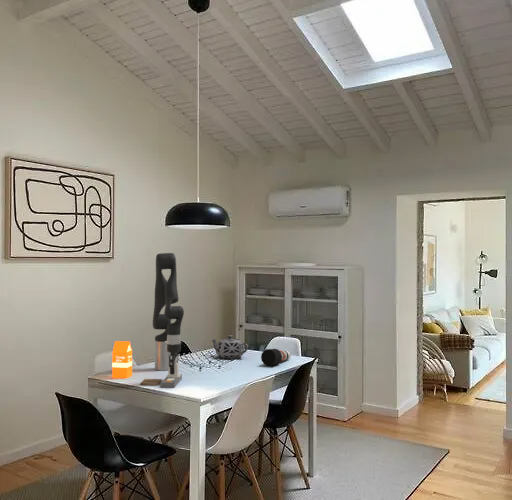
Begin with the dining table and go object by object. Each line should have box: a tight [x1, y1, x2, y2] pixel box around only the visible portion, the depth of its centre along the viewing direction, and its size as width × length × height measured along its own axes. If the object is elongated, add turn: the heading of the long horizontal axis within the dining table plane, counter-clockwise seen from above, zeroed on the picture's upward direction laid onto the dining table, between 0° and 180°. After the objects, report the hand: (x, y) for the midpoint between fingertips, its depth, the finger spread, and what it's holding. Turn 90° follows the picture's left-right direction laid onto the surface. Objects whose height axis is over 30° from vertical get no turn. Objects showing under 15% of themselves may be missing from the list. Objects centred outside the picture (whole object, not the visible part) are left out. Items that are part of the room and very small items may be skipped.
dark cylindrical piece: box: [260, 348, 292, 367], centre depth 358 cm, size 10×34×10 cm, turn 153°
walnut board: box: [139, 378, 162, 386], centre depth 296 cm, size 10×9×1 cm
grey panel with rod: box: [160, 373, 183, 389], centre depth 300 cm, size 30×7×3 cm, turn 177°
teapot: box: [210, 334, 249, 360], centre depth 376 cm, size 19×31×15 cm, turn 60°
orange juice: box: [111, 340, 133, 379], centre depth 312 cm, size 8×9×20 cm
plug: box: [167, 362, 180, 376], centre depth 301 cm, size 4×5×8 cm
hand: (173, 372), depth 301 cm, fingers open, 7 cm apart
